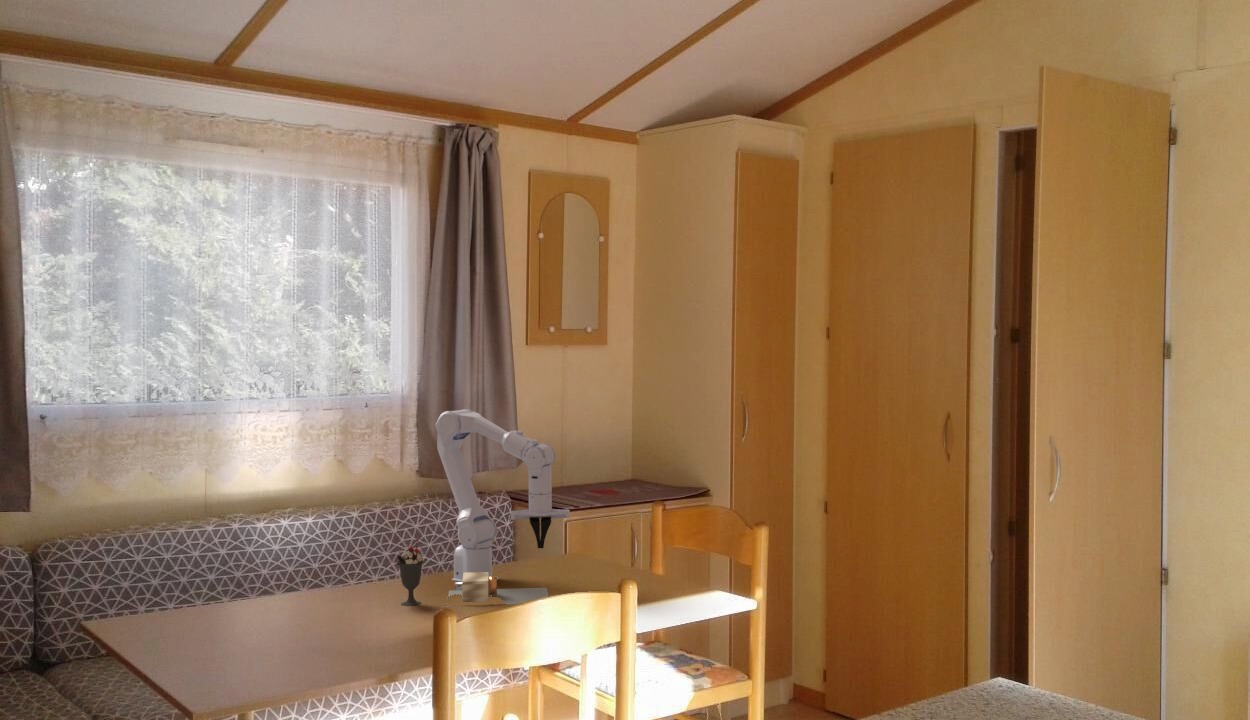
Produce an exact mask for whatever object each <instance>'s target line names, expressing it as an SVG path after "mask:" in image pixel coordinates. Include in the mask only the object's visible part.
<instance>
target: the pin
mask: <svg viewBox="0 0 1250 720" xmlns="http://www.w3.org/2000/svg"><path fill="white" fill-rule="evenodd" d="M497 577H498V576H497V575H492V576H488V595H497V589H498V583H497V582H498V580H497ZM453 588H454V589H453V590H455V591H462V582H458V581H454V587H453Z"/></svg>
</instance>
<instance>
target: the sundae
mask: <svg viewBox="0 0 1250 720" xmlns="http://www.w3.org/2000/svg"><path fill="white" fill-rule="evenodd" d="M418 541H419V539H415V541H414V543H413V544H412V545H411V546H408V549H406V550H404V551H403V552H402V554H398V555H397V556H396V558H397V559H398V560H396V562H395V564H396V565H397V566H398V567H399V572H400V579H401V583H402V584H401V585H402V586H403V587H404V588H405V589H407V591H408V596H407V600H405V601H403V602H401V603H400V605H401V606H404V607H416V606H420V605H422V602H421V601H419V600H416V599H415V595H414V590H415V589H416V588H417V587H418V586H419V585H420V584H421V583H420V582H421V577H422V576H421V575H422V567H423V563H425V562H426V560H423V556H422V555H421V553H420V550H419V548H418V547H417V544H418ZM414 545H415V548H414V547H413V546H414Z"/></svg>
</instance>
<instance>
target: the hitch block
mask: <svg viewBox="0 0 1250 720" xmlns="http://www.w3.org/2000/svg"><path fill="white" fill-rule="evenodd" d="M488 576H489V572H467V573H463V581H462V600H463V602H488V597H489V595H488Z"/></svg>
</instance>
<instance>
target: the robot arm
mask: <svg viewBox="0 0 1250 720" xmlns="http://www.w3.org/2000/svg"><path fill="white" fill-rule="evenodd" d="M434 425H435V429H436V431H437V432H436V433H437V441H436V448H437V452H438V455H439V457H440V461H441V463H442V465H443V466H442V467H443V470H444V472H445V475H446V478H447V480H448V483H449V486H450V489H451V492H452V495H453V498H454V501H455V504H456V506H457V509H458V511H459V514H458V515H457V519H456V525H457V538H458V541H459V543H460V545H458V546H457V547H456V548H455V549H454V553H453V578H452V579H451V581H452V582H462V581H463V573H467V572H489V576H493V564H492V563H493V556H492V555H493V553H492V549H493V547H492V546H493V540H494V539H495V538H496V536H497V531H498V529H497V525H496V522H494V520H493V519H492V518H491V517H490V514H489V512H488V510H487V509H486V508H484V507H482V506H481V504H480V501H479V499H478V496H477V494H476V490H475V487H474V485H473V482H472V479H471V476H470V473H469V469H468V468H467V464H466V462H465V460H464V459H465V458H464V456H463V452H462V451H461V447H462V446H463V444H464V442H465V440H466V439H467V438H468V437H469V436H470V435H471V434H472V433H477V434H480V435H482V436H484V437H486V438H489V439H490V440H493V441H495V442H497V443H499V444H500V445H501V447H502V449H503V451H504V452H506V453H508V454H510V455H512V456H514V457H515V458H517V459H520V461H523V462H524V464H525V466H526V467H527V473H528V509H520V510H511V511H510V520H513V521H514V520H529V524H530V525H531V528H532V530H533V533H534V536H535V538H536V543H537V545H536V546H537V549H544V548H545V547H544V546H545V540H546V536H547V533H548V531H549V528H550V526H551V524H552V519H570V518H571V514H570V513H571V512H570V509H562V508H561V509H559V508H558V509H557V508H556V509H555V508H553V505H552V503H553V501H552V499H553V498H552V497H553V496H552V495H553V492H552V491H553V489H552V487H553V486H552V483H553V482H552V476H553V475H552V465H553V464H554V463H555V461H556V451H555V449H554V448H553V446H551V445H550V444H549V443H546V442H543V443H539V439H536V438H534V439H532V438H530V437H528V436H526V435H525V434H524V431H522V430H521V429H520V430H510V431H507V430H505V429H503V427H500V426H499V425H497V424H495V423H494V422H492V421H491V420H489V419H487V418H485V417H484V416H482V415H481V414H480V413H479V412H476V411H472V410H471V409H469V408H463V409H459V410H446V411H443V412H442V413H441V414H440V415H439V416H438V418H437V420H436V422H435V424H434ZM498 580H500V577H498V576H497V581H498Z"/></svg>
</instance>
